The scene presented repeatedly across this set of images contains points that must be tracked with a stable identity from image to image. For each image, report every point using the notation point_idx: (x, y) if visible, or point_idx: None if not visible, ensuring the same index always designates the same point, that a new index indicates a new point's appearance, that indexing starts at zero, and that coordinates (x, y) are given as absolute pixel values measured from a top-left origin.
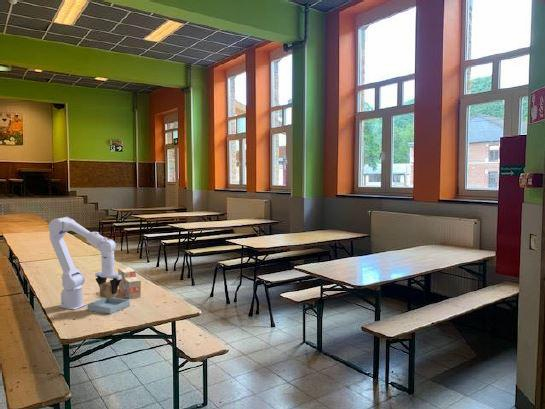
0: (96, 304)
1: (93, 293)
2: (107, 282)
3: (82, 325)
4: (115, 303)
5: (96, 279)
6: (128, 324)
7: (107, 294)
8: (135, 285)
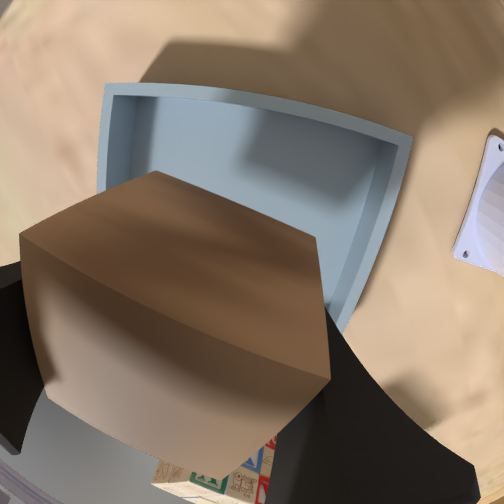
0: (362, 226)
1: (450, 411)
2: (221, 457)
3: None
4: None
5: (450, 495)
6: (3, 33)
7: (125, 186)
8: None
